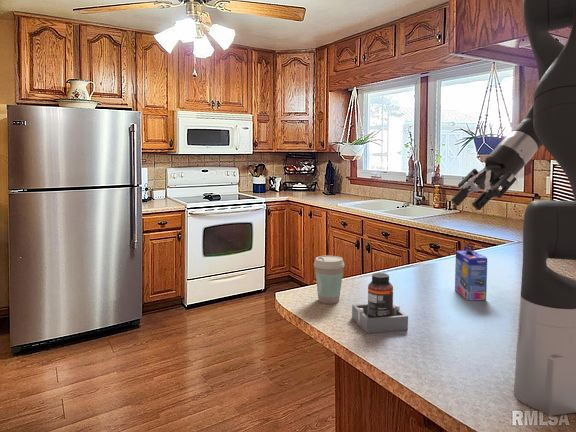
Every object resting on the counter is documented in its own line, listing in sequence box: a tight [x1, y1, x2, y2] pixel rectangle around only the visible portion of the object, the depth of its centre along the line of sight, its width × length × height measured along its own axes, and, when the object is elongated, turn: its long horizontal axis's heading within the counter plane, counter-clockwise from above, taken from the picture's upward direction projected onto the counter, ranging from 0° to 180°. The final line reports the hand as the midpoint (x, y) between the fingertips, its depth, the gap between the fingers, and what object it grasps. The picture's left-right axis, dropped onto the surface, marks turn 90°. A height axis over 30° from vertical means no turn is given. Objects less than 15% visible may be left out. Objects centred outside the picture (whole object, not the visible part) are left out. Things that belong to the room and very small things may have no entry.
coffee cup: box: [313, 255, 346, 305], centre depth 124 cm, size 8×8×12 cm
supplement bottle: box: [367, 272, 394, 318], centre depth 107 cm, size 6×6×11 cm
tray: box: [351, 303, 409, 334], centre depth 107 cm, size 10×10×4 cm
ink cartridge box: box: [454, 244, 488, 301], centre depth 128 cm, size 10×6×14 cm, turn 2°
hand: (464, 205), depth 103 cm, fingers open, 8 cm apart
